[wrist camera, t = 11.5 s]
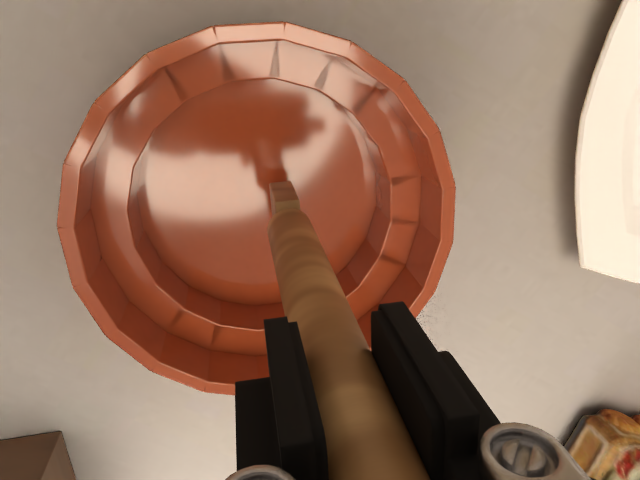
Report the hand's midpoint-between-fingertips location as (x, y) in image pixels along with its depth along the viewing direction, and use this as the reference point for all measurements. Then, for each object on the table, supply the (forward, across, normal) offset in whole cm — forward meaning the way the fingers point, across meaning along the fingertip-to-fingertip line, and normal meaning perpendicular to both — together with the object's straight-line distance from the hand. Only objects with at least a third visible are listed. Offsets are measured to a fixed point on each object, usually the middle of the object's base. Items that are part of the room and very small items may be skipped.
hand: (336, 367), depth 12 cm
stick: (+13, 0, 0) cm, 13 cm away
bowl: (+14, +1, 0) cm, 14 cm away
